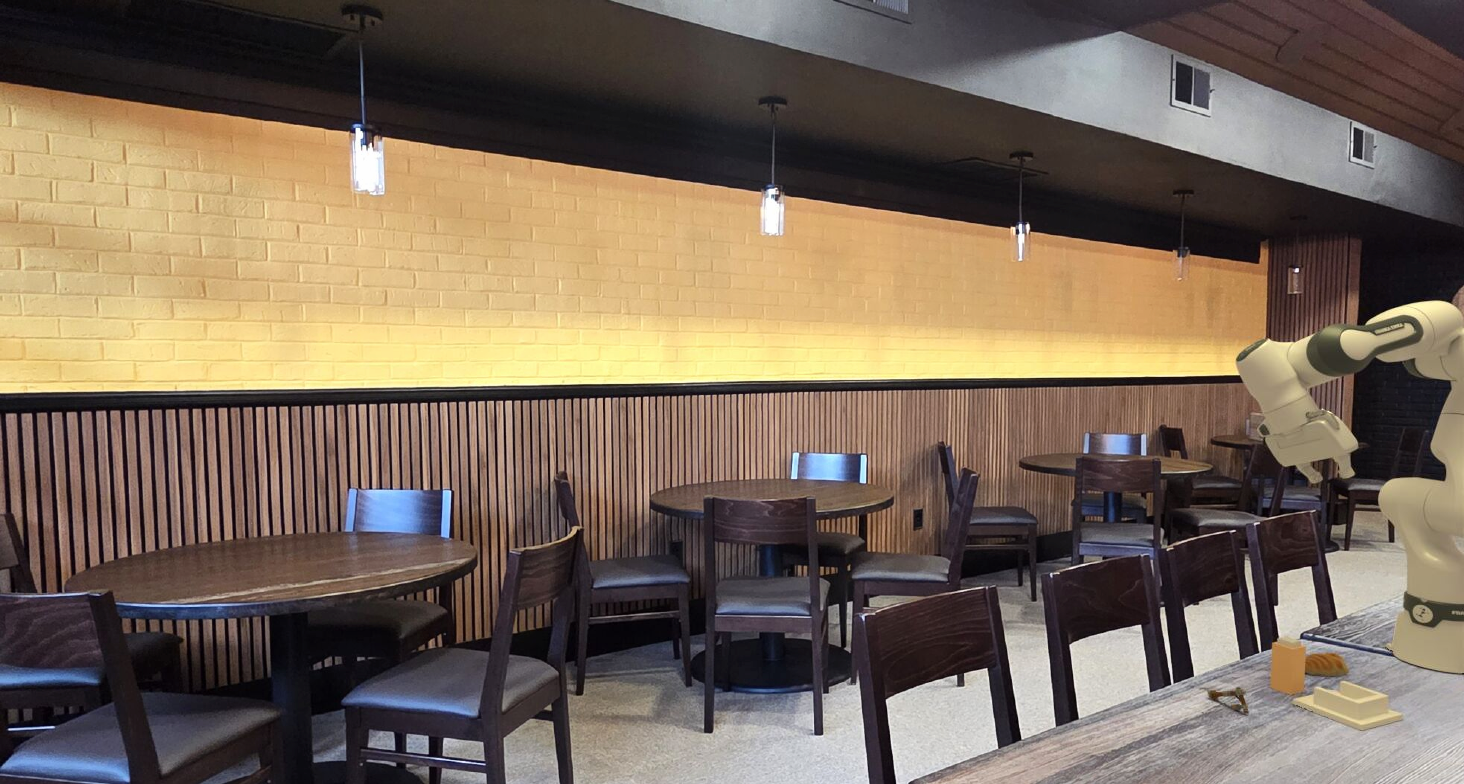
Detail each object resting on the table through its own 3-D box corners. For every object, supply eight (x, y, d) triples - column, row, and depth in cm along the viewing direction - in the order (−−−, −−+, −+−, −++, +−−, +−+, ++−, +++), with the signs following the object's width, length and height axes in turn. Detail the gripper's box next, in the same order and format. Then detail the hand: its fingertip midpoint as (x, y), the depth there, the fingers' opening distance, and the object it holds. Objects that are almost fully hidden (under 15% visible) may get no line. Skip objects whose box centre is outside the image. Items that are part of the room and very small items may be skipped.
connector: (1283, 684, 171) (1285, 635, 170) (1303, 692, 167) (1306, 641, 166) (1270, 687, 169) (1272, 637, 168) (1290, 695, 165) (1292, 643, 165)
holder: (1333, 694, 166) (1334, 674, 166) (1402, 719, 155) (1403, 697, 155) (1292, 704, 161) (1293, 683, 161) (1361, 730, 150) (1362, 708, 150)
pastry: (1314, 679, 174) (1315, 661, 174) (1286, 668, 180) (1286, 650, 180) (1351, 676, 176) (1352, 658, 176) (1321, 665, 183) (1322, 647, 183)
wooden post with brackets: (1247, 713, 154) (1240, 686, 156) (1213, 714, 162) (1206, 688, 163) (1255, 712, 155) (1247, 685, 157) (1221, 713, 162) (1214, 688, 164)
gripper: (1342, 399, 161) (1384, 466, 158) (1278, 418, 181) (1314, 477, 178) (1312, 414, 161) (1355, 481, 158) (1251, 431, 181) (1288, 490, 178)
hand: (1333, 479), depth 168 cm, fingers open, 8 cm apart
